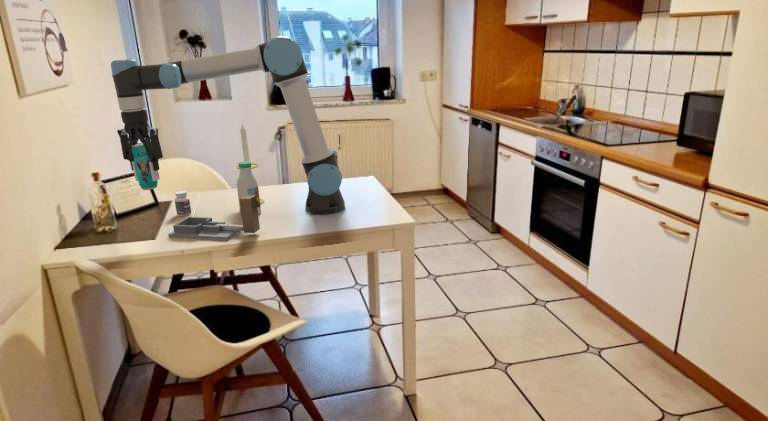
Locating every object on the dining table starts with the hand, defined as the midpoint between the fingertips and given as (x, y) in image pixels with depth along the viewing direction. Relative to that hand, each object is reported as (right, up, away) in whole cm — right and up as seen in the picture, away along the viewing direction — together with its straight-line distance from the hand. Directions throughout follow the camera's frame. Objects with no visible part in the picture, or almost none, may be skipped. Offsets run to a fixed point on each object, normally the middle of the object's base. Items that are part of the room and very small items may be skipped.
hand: (147, 179), depth 168 cm
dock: (+18, -18, +6) cm, 26 cm away
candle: (+25, -7, +38) cm, 46 cm away
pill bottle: (+2, -12, +26) cm, 29 cm away
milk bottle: (+28, -12, +24) cm, 39 cm away
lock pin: (+29, -17, +3) cm, 34 cm away
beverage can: (0, -3, +1) cm, 3 cm away
